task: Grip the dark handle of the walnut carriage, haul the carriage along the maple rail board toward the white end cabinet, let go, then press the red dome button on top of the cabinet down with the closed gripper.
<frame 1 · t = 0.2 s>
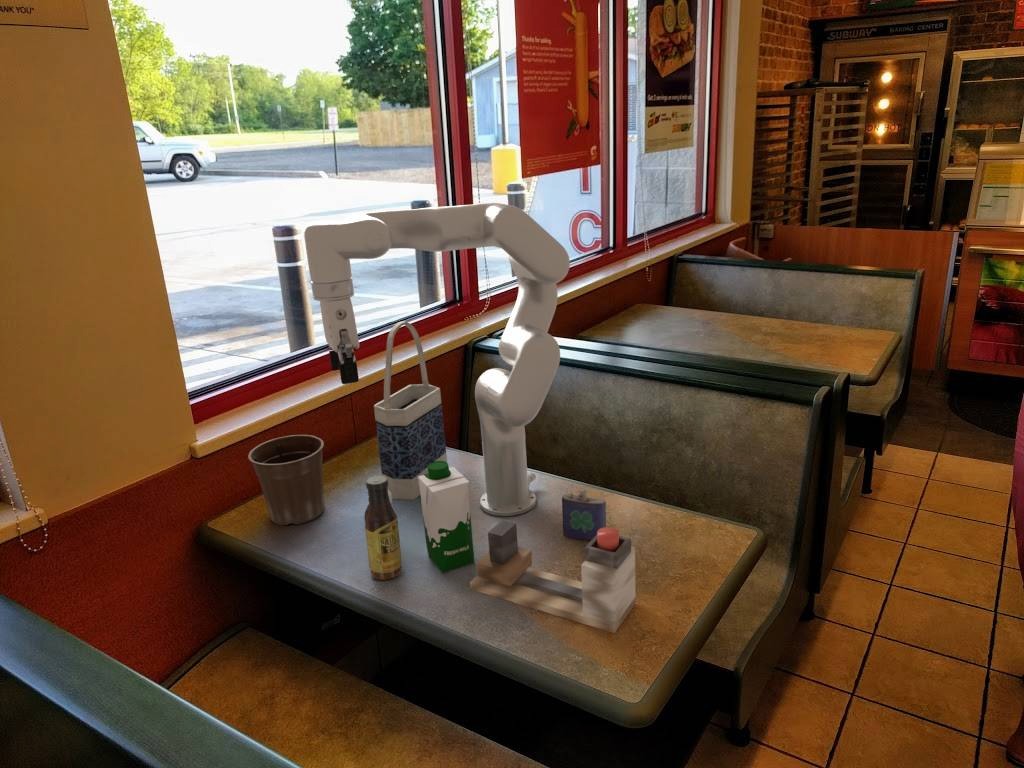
hand: (345, 375, 148), 37 cm above the table, tool pointing down, fingers open, 9 cm apart
red dome button: (608, 540, 128), point 15 cm above the table, slide at 0.0 cm
ice cream cone: (385, 538, 162), on the table
rail: (548, 595, 138), on the table
bag: (417, 483, 186), on the table
plant pot: (297, 513, 175), on the table
milk carton: (451, 561, 152), on the table
carriage: (503, 549, 141), point 7 cm above the table, slide at -9.0 cm
sauce bottle: (387, 573, 149), on the table
flask: (584, 538, 157), on the table
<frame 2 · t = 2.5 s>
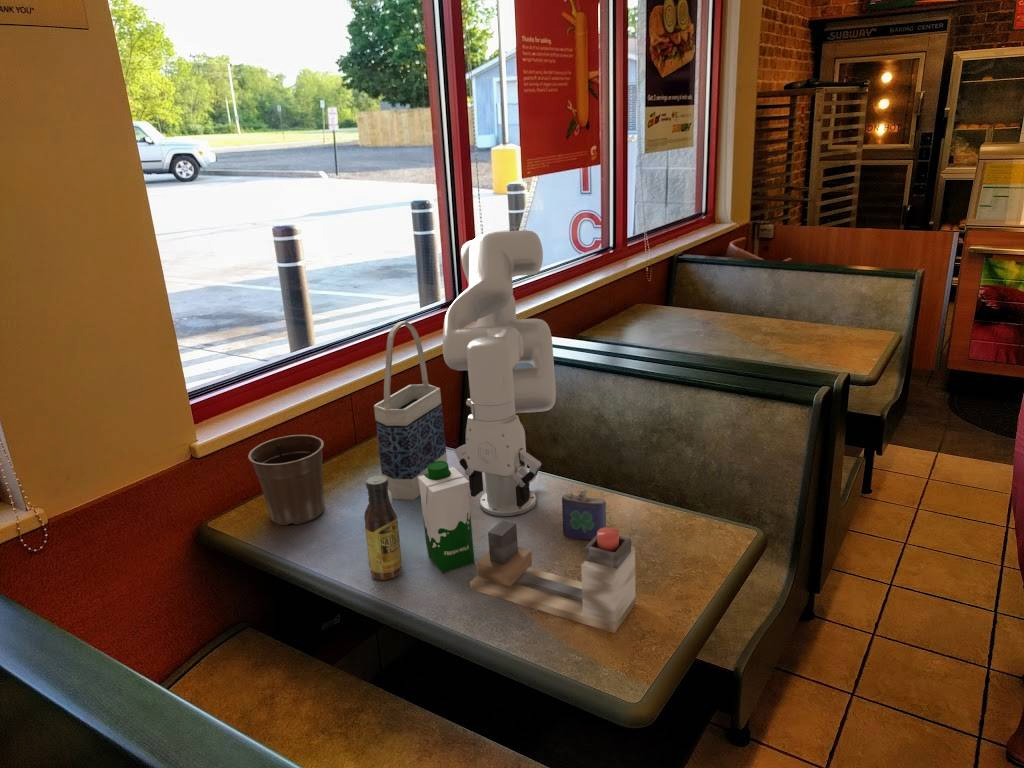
hand: (499, 498, 137), 18 cm above the table, tool pointing down, fingers open, 9 cm apart
nothing on the table moved.
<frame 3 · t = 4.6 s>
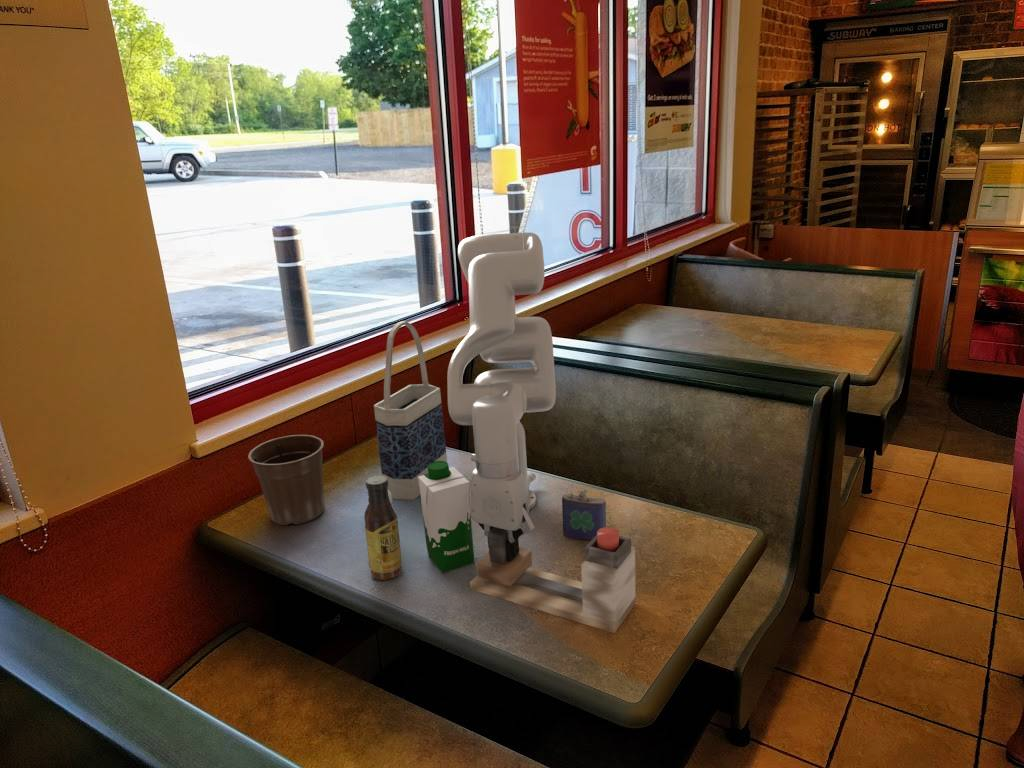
hand: (504, 554, 141), 6 cm above the table, tool pointing down, fingers closed on carriage, 3 cm apart
carriage: (503, 549, 141), point 7 cm above the table, slide at -9.0 cm, touching gripper
everything else where it was.
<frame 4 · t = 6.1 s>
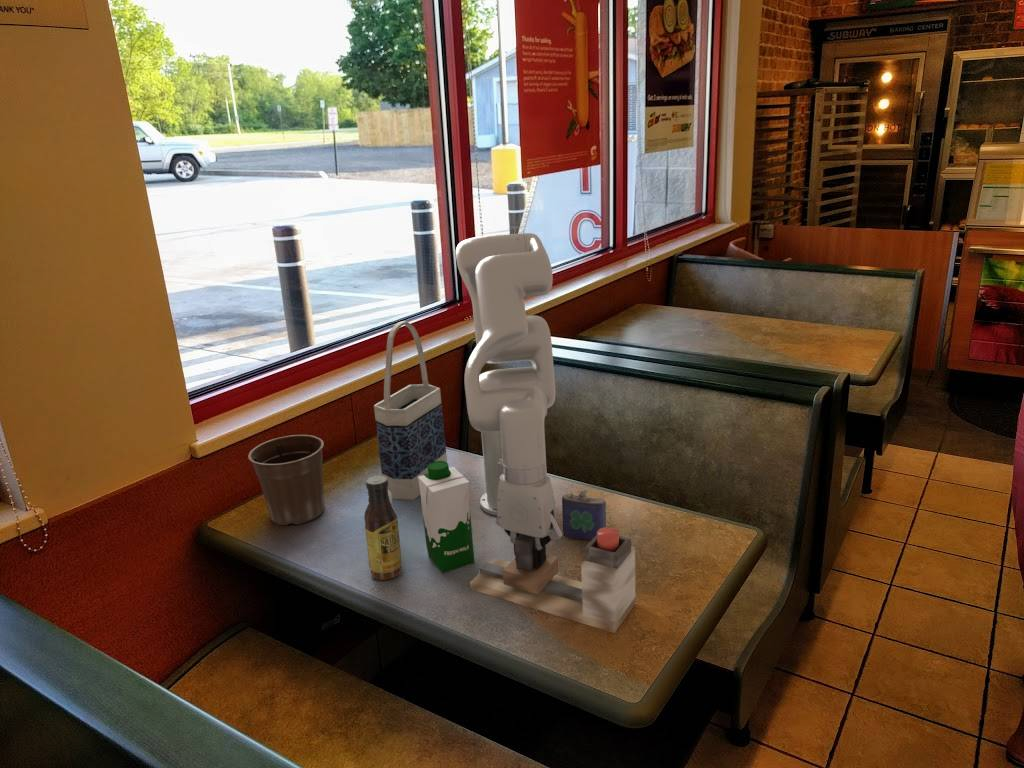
hand: (530, 561, 138), 6 cm above the table, tool pointing down, fingers closed on carriage, 3 cm apart
carriage: (530, 556, 138), point 7 cm above the table, slide at -3.4 cm, touching gripper
everything else where it was.
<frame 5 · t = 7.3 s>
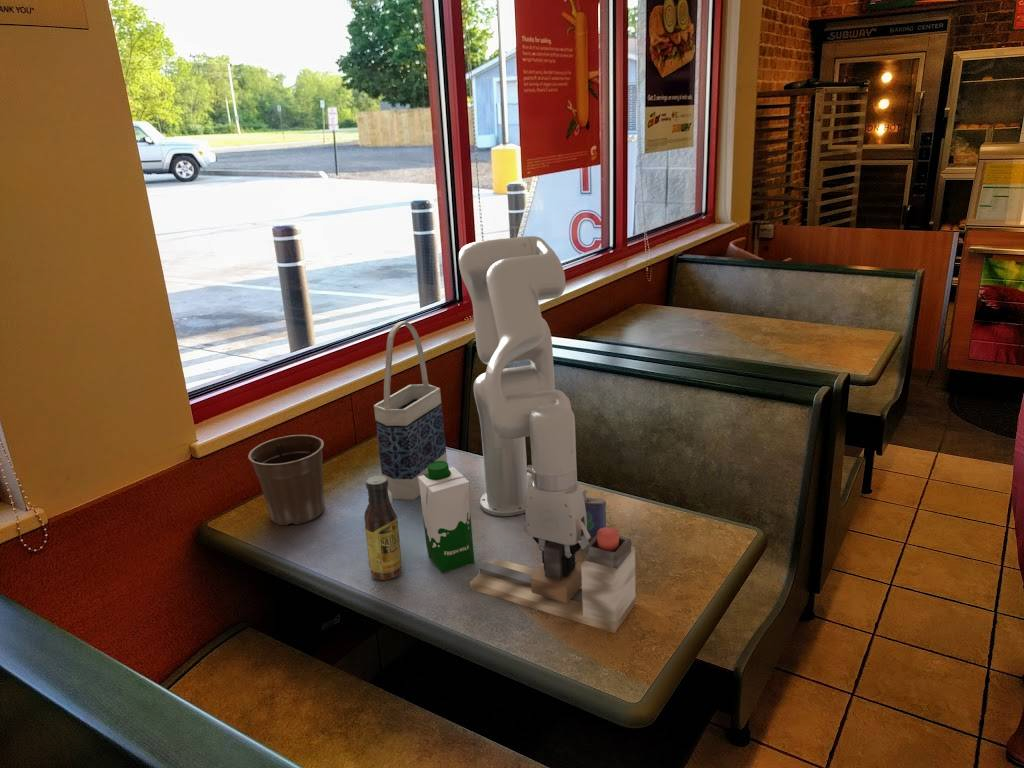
hand: (559, 569, 135), 6 cm above the table, tool pointing down, fingers closed on carriage, 3 cm apart
carriage: (558, 564, 135), point 7 cm above the table, slide at 2.5 cm, touching gripper
everything else where it was.
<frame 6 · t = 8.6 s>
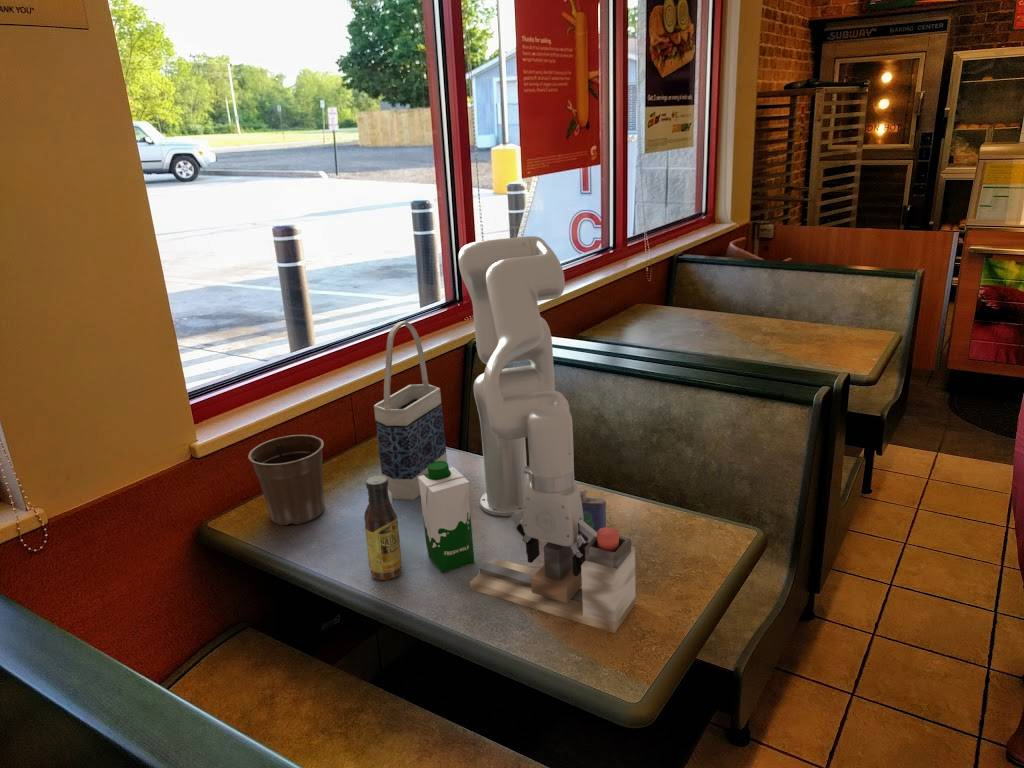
hand: (555, 565, 135), 7 cm above the table, tool pointing down, fingers open, 8 cm apart
carriage: (558, 564, 135), point 7 cm above the table, slide at 2.5 cm
everything else where it was.
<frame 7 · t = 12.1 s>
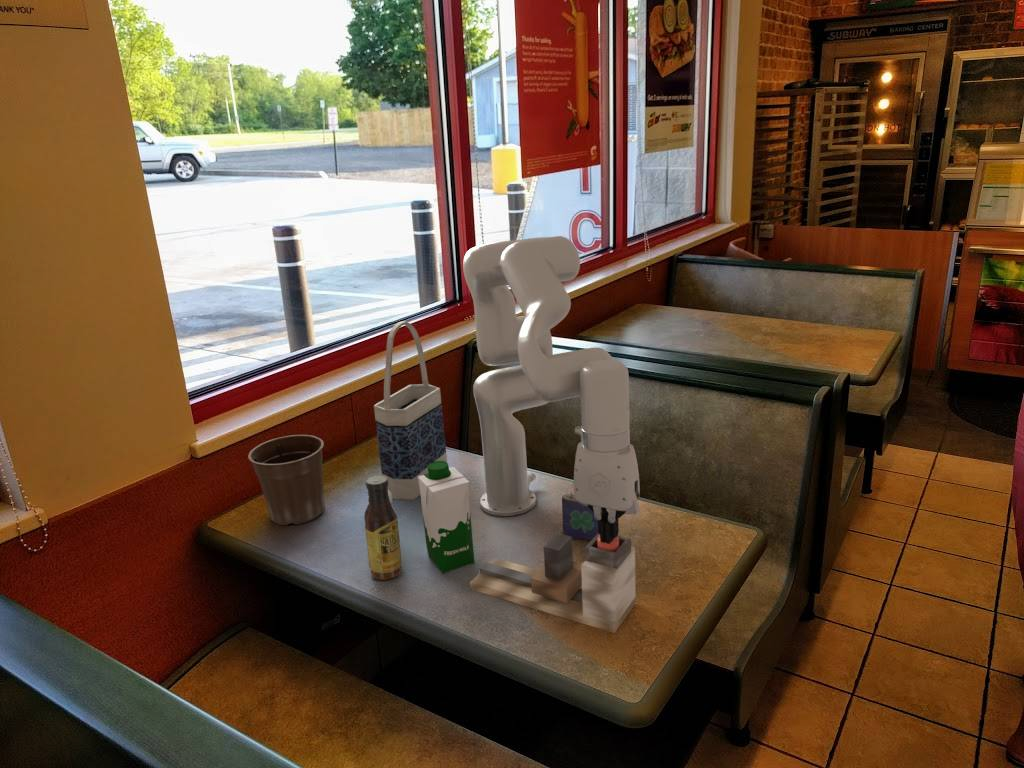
hand: (608, 538, 127), 15 cm above the table, tool pointing down, fingers closed
red dome button: (608, 545, 128), point 13 cm above the table, slide at 1.1 cm, touching gripper
everything else where it was.
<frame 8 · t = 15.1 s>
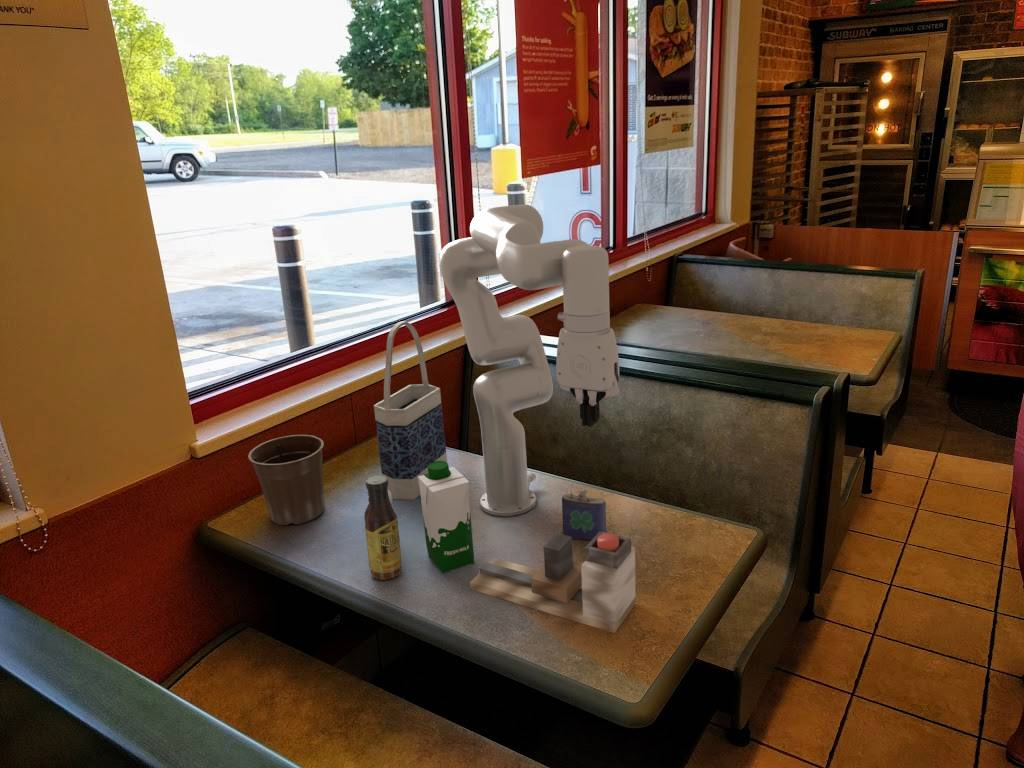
hand: (590, 423, 133), 31 cm above the table, tool pointing down, fingers closed
red dome button: (608, 546, 128), point 13 cm above the table, slide at 1.2 cm
everything else where it was.
at the end: carriage slide at 2.5 cm; red dome button slide at 1.2 cm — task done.
